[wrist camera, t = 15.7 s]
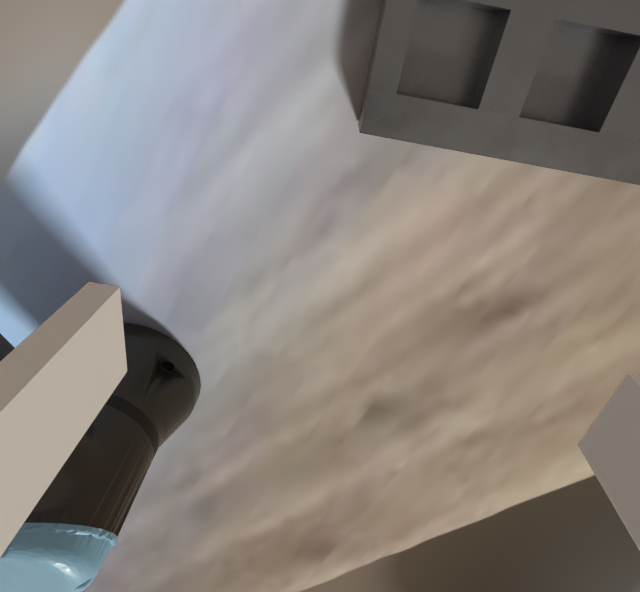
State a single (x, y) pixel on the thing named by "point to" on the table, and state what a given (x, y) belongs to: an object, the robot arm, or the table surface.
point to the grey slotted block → (512, 81)
